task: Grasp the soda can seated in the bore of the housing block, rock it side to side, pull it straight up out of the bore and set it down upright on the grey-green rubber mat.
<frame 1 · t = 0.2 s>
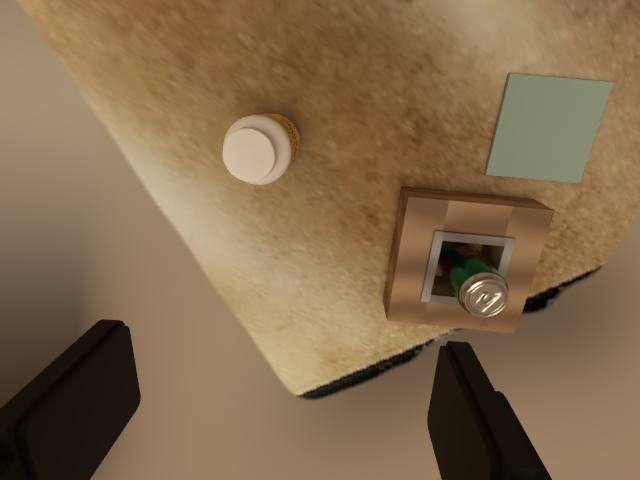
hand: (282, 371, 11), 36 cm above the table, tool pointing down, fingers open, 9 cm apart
mat: (543, 130, 42), on the table
soda can: (452, 252, 48), resting in housing
supplement bottle: (273, 141, 45), on the table
housing: (453, 252, 48), on the table
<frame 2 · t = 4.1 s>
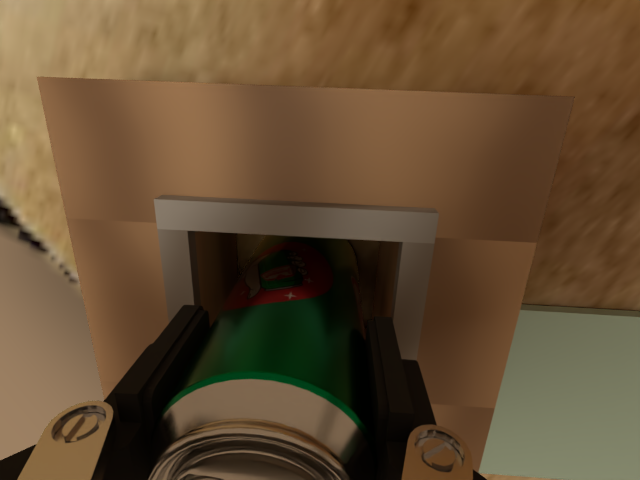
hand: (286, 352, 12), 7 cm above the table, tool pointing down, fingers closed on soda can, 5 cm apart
mat: (595, 398, 20), on the table
soda can: (306, 263, 19), resting in housing, touching gripper
housing: (306, 264, 18), on the table
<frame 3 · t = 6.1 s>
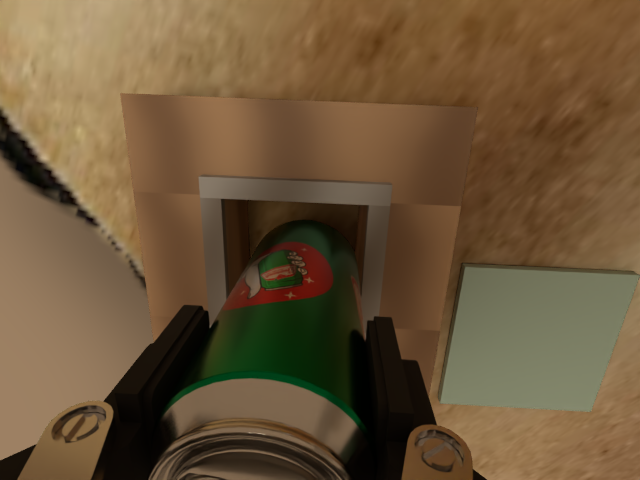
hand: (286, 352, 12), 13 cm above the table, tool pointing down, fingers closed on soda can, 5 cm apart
mat: (528, 339, 26), on the table
soda can: (306, 263, 19), point 5 cm above the table, touching gripper
housing: (302, 234, 24), on the table
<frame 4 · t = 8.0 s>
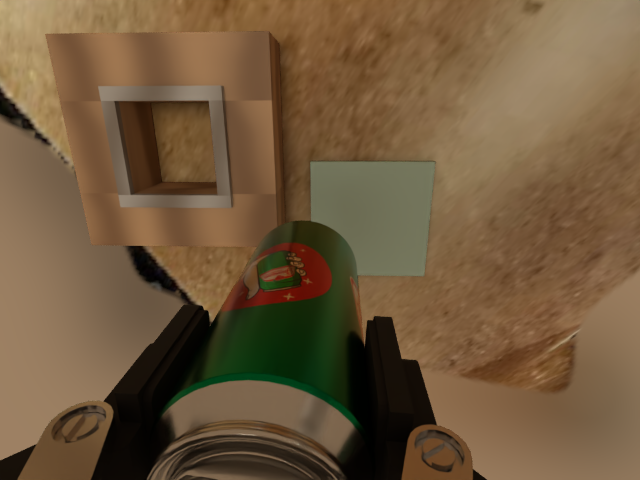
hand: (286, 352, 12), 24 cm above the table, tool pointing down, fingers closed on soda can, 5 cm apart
mat: (369, 219, 35), on the table
soda can: (305, 263, 19), point 17 cm above the table, touching gripper
housing: (194, 143, 33), on the table
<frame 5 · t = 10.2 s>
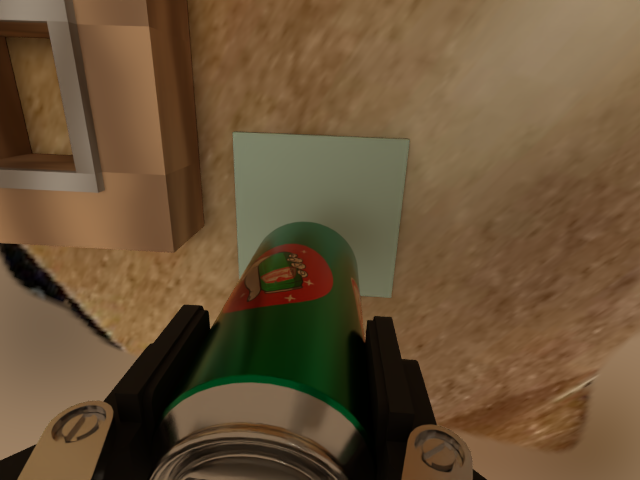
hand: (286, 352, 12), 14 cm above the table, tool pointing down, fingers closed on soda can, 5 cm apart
mat: (317, 218, 25), on the table
soda can: (306, 264, 19), point 7 cm above the table, touching gripper
housing: (71, 100, 24), on the table
when the fingers open (9 cm above the table, at t = 12.1 s): soda can drops 1 cm, resting on mat.
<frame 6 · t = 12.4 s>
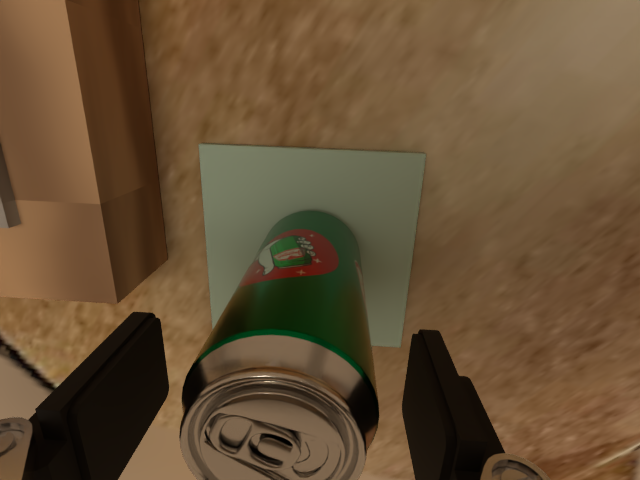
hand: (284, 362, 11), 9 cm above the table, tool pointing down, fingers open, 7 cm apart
mat: (309, 250, 20), on the table
soda can: (312, 251, 20), resting on mat
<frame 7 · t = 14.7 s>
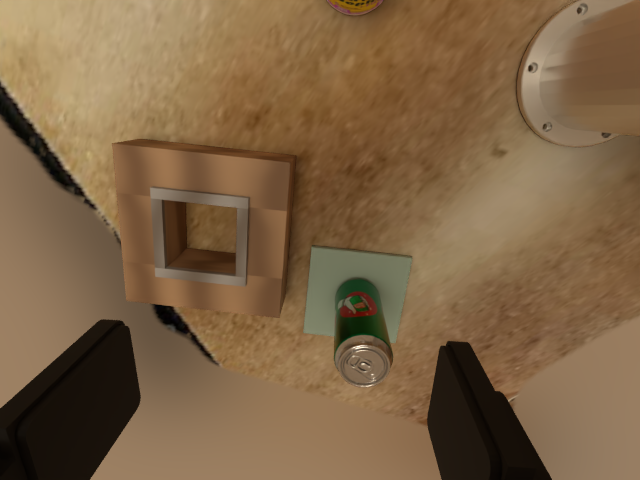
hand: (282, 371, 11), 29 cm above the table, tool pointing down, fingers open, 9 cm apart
mat: (355, 294, 43), on the table
soda can: (357, 295, 42), resting on mat
housing: (217, 221, 40), on the table
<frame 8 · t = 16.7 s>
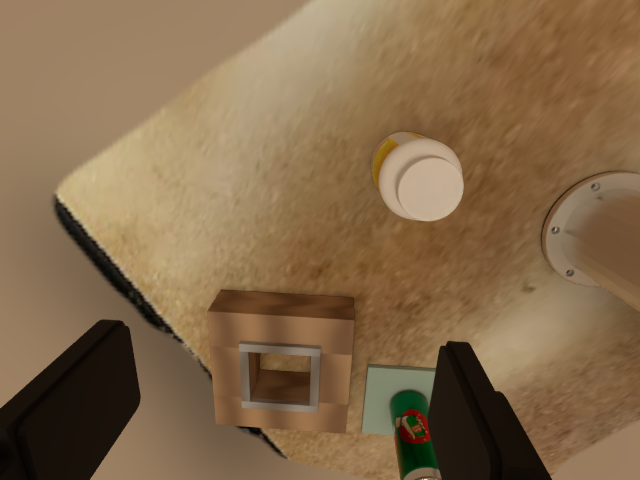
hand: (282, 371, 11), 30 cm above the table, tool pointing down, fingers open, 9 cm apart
mat: (406, 400, 49), on the table
soda can: (408, 402, 49), resting on mat
supplement bottle: (401, 163, 39), on the table
housing: (286, 349, 47), on the table
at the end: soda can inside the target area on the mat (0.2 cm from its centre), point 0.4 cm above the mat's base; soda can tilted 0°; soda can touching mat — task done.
